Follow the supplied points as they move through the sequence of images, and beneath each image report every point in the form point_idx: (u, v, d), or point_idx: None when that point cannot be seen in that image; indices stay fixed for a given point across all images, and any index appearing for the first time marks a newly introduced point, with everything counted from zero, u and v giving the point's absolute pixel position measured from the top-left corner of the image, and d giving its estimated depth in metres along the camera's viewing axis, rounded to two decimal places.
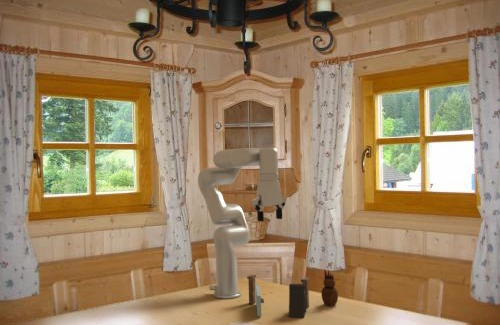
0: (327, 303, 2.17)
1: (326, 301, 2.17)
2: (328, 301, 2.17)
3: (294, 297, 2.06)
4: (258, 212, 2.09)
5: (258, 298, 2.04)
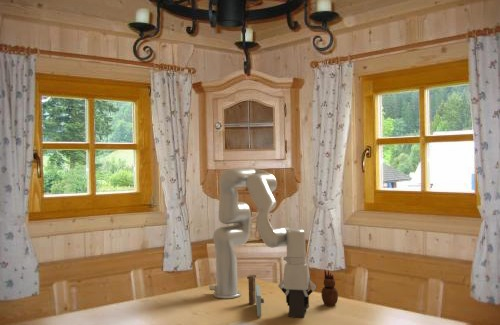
0: (327, 303, 2.17)
1: (326, 301, 2.17)
2: (328, 301, 2.17)
3: (294, 297, 2.06)
4: (308, 297, 2.06)
5: (258, 298, 2.04)
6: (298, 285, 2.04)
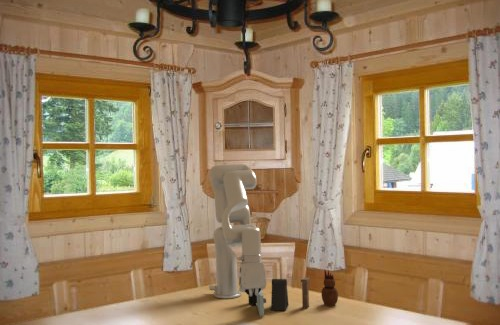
0: (327, 303, 2.17)
1: (326, 301, 2.17)
2: (328, 301, 2.17)
3: (276, 291, 2.15)
4: None
5: (261, 298, 2.04)
6: (258, 283, 2.03)
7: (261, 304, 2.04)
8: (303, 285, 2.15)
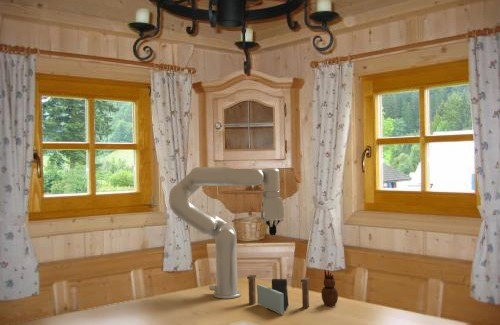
0: (327, 303, 2.17)
1: (326, 301, 2.17)
2: (328, 301, 2.17)
3: None
4: None
5: (281, 296, 2.06)
6: (277, 215, 2.38)
7: (282, 302, 2.06)
8: (303, 285, 2.15)
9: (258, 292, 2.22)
